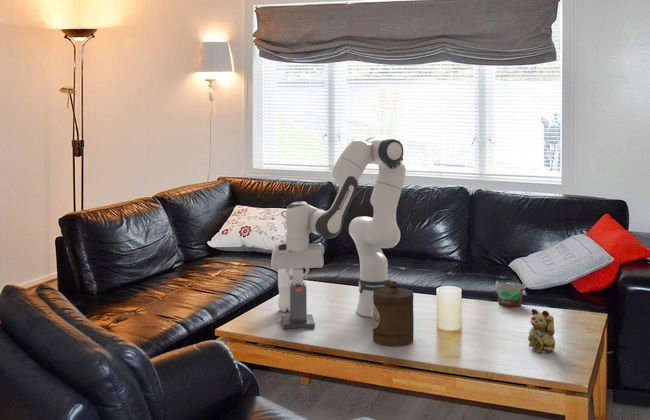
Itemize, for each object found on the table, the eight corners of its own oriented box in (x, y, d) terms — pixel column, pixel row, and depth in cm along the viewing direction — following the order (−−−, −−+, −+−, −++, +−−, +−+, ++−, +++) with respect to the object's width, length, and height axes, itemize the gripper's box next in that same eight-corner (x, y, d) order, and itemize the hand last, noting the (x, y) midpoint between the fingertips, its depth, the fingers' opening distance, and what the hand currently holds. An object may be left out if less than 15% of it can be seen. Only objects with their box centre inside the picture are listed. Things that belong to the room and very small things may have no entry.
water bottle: (293, 313, 323) (292, 253, 319) (276, 312, 324) (275, 253, 320) (297, 308, 330) (296, 249, 326) (280, 307, 331) (280, 249, 327)
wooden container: (377, 332, 299) (378, 275, 295) (416, 335, 295) (417, 278, 291) (368, 344, 285) (368, 285, 281) (409, 348, 281) (410, 288, 277)
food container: (492, 306, 332) (493, 283, 330) (495, 302, 338) (495, 280, 336) (522, 309, 327) (523, 286, 326) (524, 305, 333) (525, 282, 331)
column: (302, 316, 310) (302, 267, 307) (303, 319, 306) (303, 269, 303) (292, 317, 310) (291, 267, 307) (293, 320, 306) (292, 269, 303)
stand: (311, 319, 315) (311, 278, 312) (314, 328, 303) (314, 286, 301) (281, 320, 314) (281, 279, 311) (283, 329, 302) (283, 287, 299)
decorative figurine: (524, 350, 279) (526, 308, 276) (533, 343, 285) (535, 303, 283) (550, 355, 273) (552, 313, 270) (559, 349, 279) (561, 308, 277)
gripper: (323, 241, 308) (323, 276, 310) (270, 243, 305) (271, 277, 308) (325, 245, 301) (325, 280, 304) (271, 246, 299) (271, 282, 301)
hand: (297, 279), depth 306 cm, fingers closed on column, 4 cm apart
